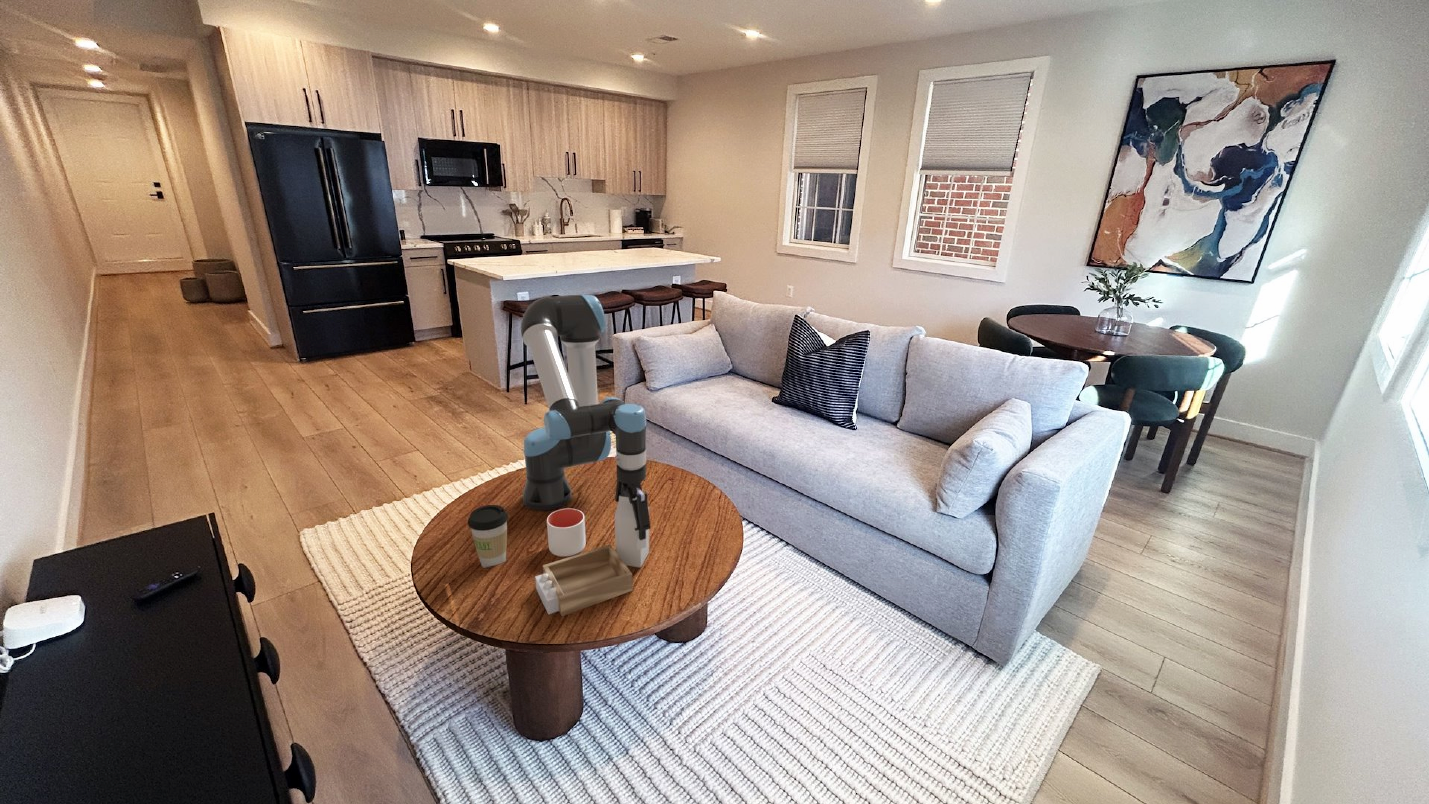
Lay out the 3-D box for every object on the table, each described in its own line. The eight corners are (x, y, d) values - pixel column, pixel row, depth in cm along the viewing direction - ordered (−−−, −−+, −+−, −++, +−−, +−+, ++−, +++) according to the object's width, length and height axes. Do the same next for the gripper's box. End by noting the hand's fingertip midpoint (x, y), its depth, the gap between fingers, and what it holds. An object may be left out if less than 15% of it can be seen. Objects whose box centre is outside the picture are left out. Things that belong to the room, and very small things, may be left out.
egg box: (536, 589, 137) (534, 572, 135) (552, 584, 139) (551, 567, 137) (548, 614, 129) (546, 596, 127) (565, 608, 131) (563, 590, 129)
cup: (592, 542, 158) (591, 512, 154) (573, 563, 149) (571, 531, 145) (562, 535, 161) (560, 505, 157) (541, 554, 152) (539, 523, 148)
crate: (544, 585, 140) (542, 565, 138) (611, 563, 149) (610, 544, 147) (561, 619, 129) (560, 598, 127) (632, 593, 139) (632, 574, 136)
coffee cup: (473, 554, 151) (466, 507, 145) (511, 547, 154) (506, 500, 149) (474, 576, 142) (467, 527, 137) (514, 568, 146) (509, 519, 141)
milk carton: (640, 568, 148) (640, 507, 141) (615, 564, 149) (614, 503, 142) (649, 552, 154) (649, 493, 148) (625, 548, 156) (623, 489, 149)
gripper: (601, 449, 148) (603, 520, 156) (636, 486, 131) (637, 564, 139) (626, 444, 152) (628, 513, 160) (664, 479, 135) (664, 555, 142)
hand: (632, 537), depth 149 cm, fingers closed on milk carton, 10 cm apart
